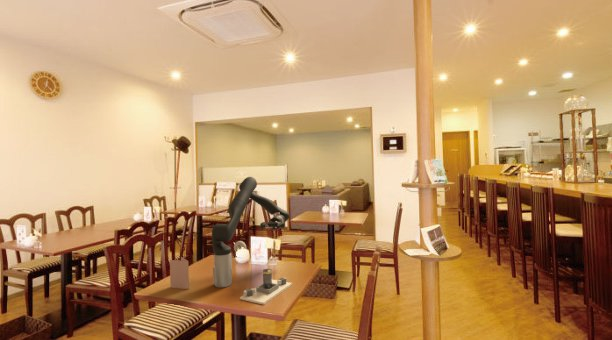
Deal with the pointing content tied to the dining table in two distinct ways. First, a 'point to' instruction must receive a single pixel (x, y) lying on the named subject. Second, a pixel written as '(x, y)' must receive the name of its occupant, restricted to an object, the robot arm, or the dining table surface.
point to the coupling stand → (265, 292)
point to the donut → (239, 245)
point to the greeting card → (179, 273)
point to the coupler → (267, 278)
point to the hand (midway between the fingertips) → (270, 227)
